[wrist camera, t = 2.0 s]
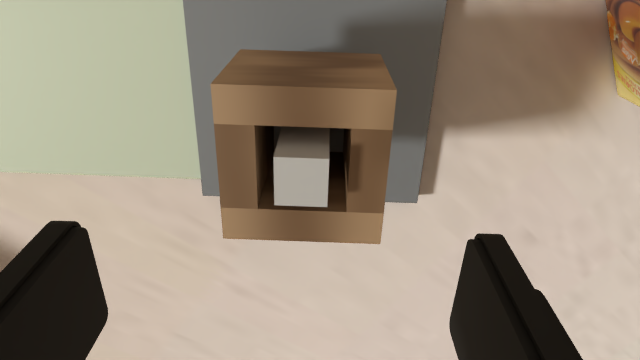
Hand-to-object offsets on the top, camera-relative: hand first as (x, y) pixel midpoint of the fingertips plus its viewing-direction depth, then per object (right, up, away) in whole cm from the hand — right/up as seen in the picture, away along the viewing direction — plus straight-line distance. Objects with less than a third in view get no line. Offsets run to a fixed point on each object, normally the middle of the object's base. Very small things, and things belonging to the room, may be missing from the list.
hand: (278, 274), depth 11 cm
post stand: (+1, +8, +16) cm, 18 cm away
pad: (-13, +10, +15) cm, 23 cm away
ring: (0, +5, +12) cm, 13 cm away
